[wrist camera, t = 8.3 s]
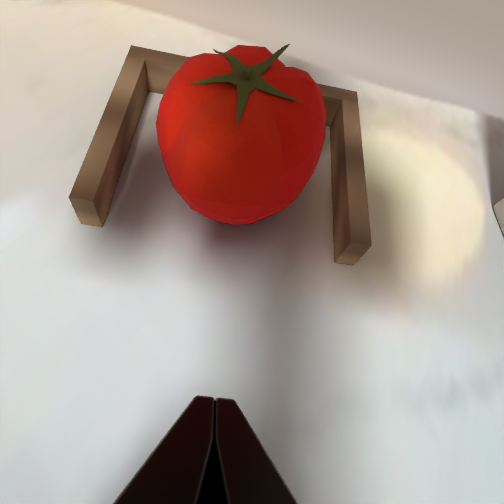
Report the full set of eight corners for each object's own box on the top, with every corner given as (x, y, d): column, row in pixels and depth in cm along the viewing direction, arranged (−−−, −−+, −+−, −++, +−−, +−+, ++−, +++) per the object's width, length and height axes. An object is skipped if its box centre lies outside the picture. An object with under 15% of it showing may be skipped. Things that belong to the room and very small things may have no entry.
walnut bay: (353, 265, 22) (371, 245, 20) (80, 223, 21) (68, 197, 18) (343, 118, 29) (356, 91, 27) (135, 77, 27) (131, 45, 25)
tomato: (302, 141, 27) (346, 27, 19) (301, 263, 22) (359, 171, 14) (176, 118, 26) (173, -11, 18) (145, 240, 21) (124, 130, 13)
